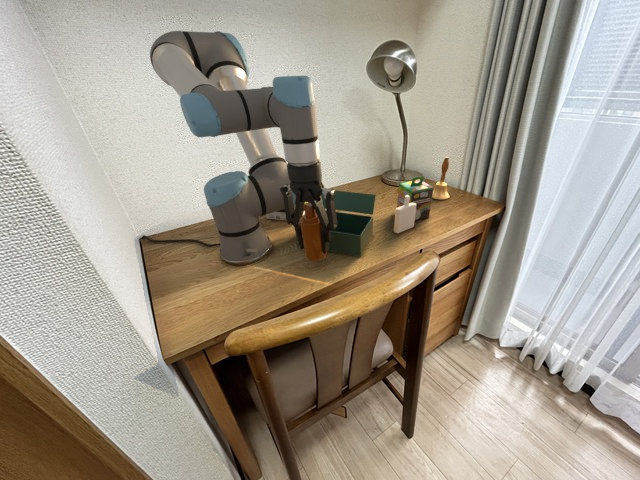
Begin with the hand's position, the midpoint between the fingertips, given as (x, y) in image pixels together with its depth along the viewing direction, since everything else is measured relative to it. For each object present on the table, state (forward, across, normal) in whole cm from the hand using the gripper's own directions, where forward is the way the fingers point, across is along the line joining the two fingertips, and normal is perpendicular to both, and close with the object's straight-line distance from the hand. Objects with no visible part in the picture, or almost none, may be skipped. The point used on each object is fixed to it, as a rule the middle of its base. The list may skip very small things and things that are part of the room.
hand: (315, 248), depth 71 cm
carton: (+6, 0, -14) cm, 15 cm away
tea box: (+6, +24, -26) cm, 36 cm away
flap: (-5, 0, -22) cm, 22 cm away
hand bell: (+6, -28, -61) cm, 68 cm away
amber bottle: (+2, 0, 0) cm, 2 cm away
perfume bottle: (+6, -20, -28) cm, 35 cm away
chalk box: (+6, -20, -40) cm, 45 cm away
